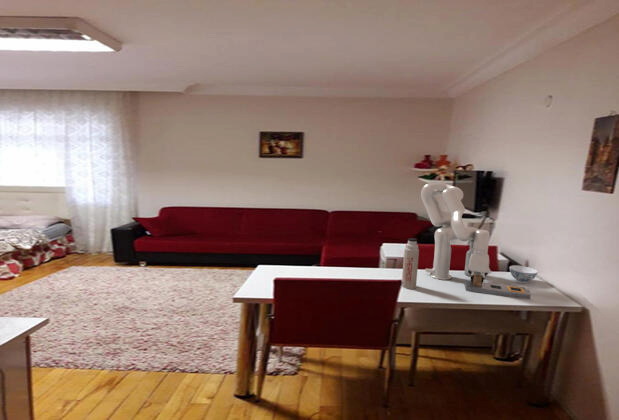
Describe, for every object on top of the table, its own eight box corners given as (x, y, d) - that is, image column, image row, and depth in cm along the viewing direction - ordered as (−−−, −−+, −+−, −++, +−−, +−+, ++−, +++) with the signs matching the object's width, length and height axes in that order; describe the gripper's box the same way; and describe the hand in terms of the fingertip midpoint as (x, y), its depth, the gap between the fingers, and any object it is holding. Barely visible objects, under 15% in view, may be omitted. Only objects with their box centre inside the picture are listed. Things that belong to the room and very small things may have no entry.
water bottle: (484, 276, 230) (489, 233, 226) (474, 278, 226) (478, 234, 221) (471, 271, 239) (475, 230, 235) (460, 273, 235) (465, 231, 230)
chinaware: (534, 287, 214) (536, 274, 212) (506, 281, 222) (507, 269, 221) (537, 281, 225) (539, 269, 224) (510, 275, 234) (511, 264, 233)
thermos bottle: (411, 290, 202) (415, 241, 198) (399, 286, 208) (402, 238, 203) (418, 286, 208) (422, 239, 204) (405, 283, 213) (409, 236, 209)
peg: (472, 289, 207) (474, 275, 206) (471, 286, 211) (473, 273, 210) (480, 290, 206) (481, 276, 205) (479, 287, 210) (480, 274, 208)
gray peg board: (465, 290, 204) (466, 286, 204) (464, 283, 216) (464, 279, 215) (530, 299, 195) (530, 294, 194) (524, 291, 206) (525, 287, 206)
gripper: (464, 251, 204) (461, 282, 207) (497, 255, 199) (493, 286, 202) (463, 248, 211) (460, 278, 214) (495, 251, 206) (491, 282, 209)
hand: (476, 282), depth 208 cm, fingers closed on peg, 4 cm apart
